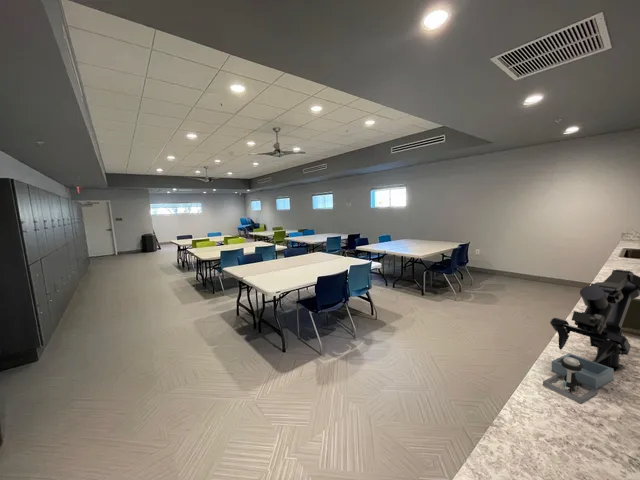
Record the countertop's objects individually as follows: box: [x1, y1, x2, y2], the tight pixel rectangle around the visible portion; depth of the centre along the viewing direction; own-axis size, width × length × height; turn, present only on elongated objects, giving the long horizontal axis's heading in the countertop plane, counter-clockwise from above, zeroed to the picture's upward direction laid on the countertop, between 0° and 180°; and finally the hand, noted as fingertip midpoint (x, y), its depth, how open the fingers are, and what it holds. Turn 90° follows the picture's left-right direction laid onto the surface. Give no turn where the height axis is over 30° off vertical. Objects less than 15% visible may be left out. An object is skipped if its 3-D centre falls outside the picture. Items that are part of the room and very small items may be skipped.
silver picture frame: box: [542, 373, 599, 405], centre depth 87 cm, size 10×10×2 cm
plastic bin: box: [550, 352, 615, 390], centre depth 94 cm, size 12×12×4 cm
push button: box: [560, 357, 583, 393], centre depth 87 cm, size 7×5×10 cm
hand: (577, 355), depth 88 cm, fingers open, 9 cm apart
